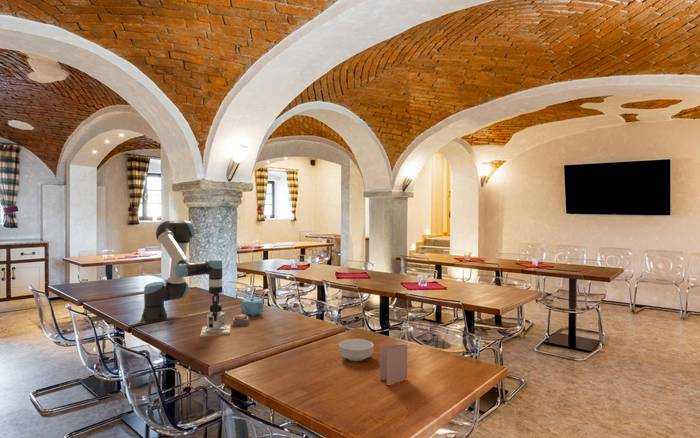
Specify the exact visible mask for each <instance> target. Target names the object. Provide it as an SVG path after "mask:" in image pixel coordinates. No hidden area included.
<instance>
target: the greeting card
mask: <svg viewBox="0 0 700 438" xmlns="http://www.w3.org/2000/svg"><path fill="white" fill-rule="evenodd" d="M380 379H387V380H386V386H387V385H390V384H393V383H396V382H399V381H402V380H405V379H407V380H408V344H379V380H380ZM405 381H406V380H405ZM402 382H403V381H402ZM399 383H400V382H399ZM396 384H397V383H396ZM393 385H394V384H393ZM390 386H391V385H390Z"/></svg>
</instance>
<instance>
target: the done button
mask: <svg viewBox="0 0 700 438" xmlns="http://www.w3.org/2000/svg"><path fill="white" fill-rule="evenodd" d="M235 317H236V320H243V319H246V315H245V314H242V313H240V314H237V315H235Z"/></svg>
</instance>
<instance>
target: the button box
mask: <svg viewBox="0 0 700 438" xmlns="http://www.w3.org/2000/svg"><path fill="white" fill-rule="evenodd" d="M232 326H233V327H239V326H240V327H242V326H249V315H248V316H246V319H243V320H236V316H233V318H232Z"/></svg>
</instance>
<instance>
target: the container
mask: <svg viewBox="0 0 700 438" xmlns="http://www.w3.org/2000/svg"><path fill="white" fill-rule="evenodd" d="M212 314H213V304H211V305H210V306H209V314H207V315H206V326H207V328H210V329H220V328H221V327H223V326H225V325H226V312H223V305H222V304H220V303H219V304H218V327H213V316H212Z"/></svg>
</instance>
